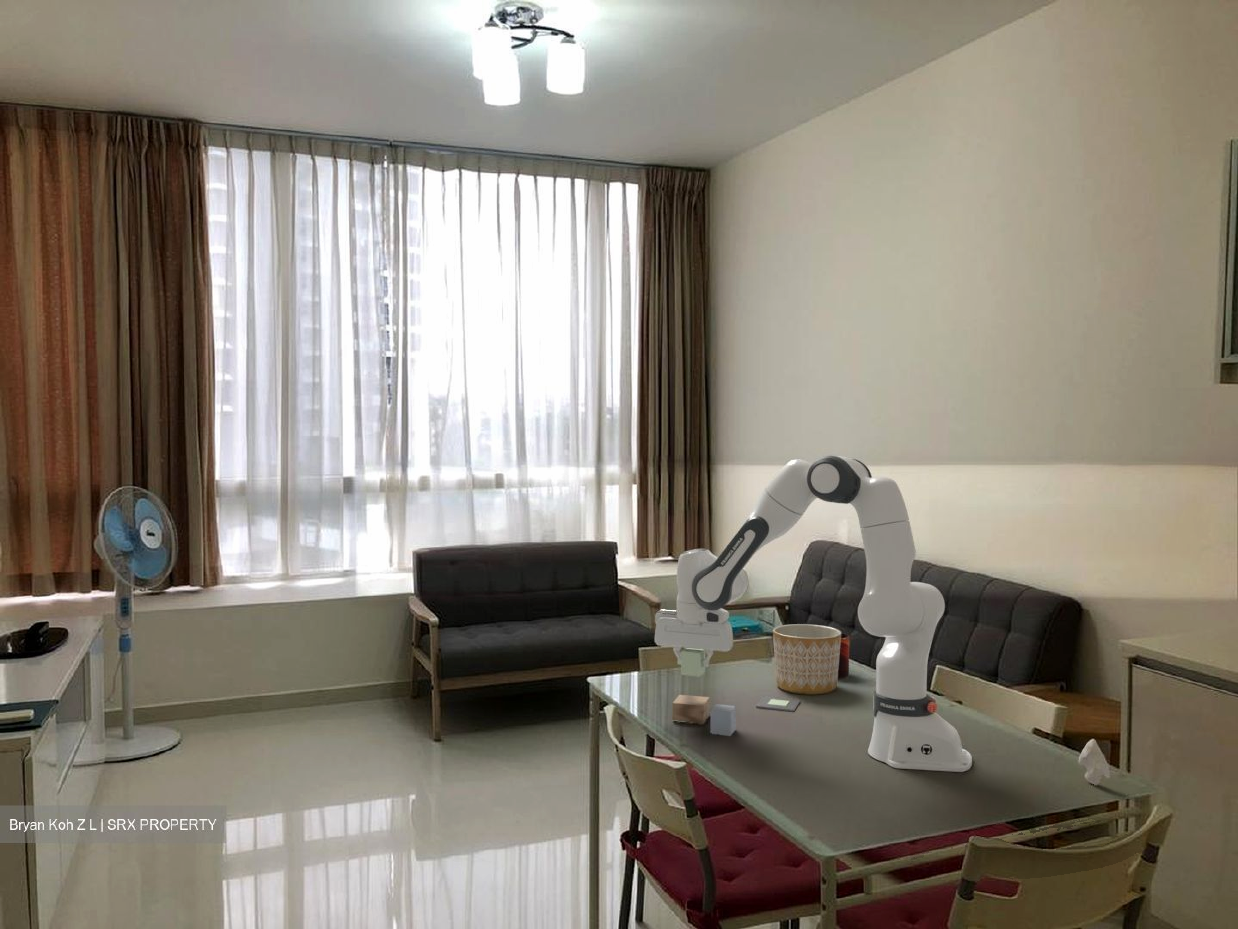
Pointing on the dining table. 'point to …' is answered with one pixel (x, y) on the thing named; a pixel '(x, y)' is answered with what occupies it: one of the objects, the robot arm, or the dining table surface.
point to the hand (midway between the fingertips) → (693, 665)
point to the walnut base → (691, 709)
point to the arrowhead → (1094, 762)
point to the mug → (844, 657)
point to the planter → (806, 658)
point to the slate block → (723, 720)
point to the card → (778, 703)
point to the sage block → (692, 662)
